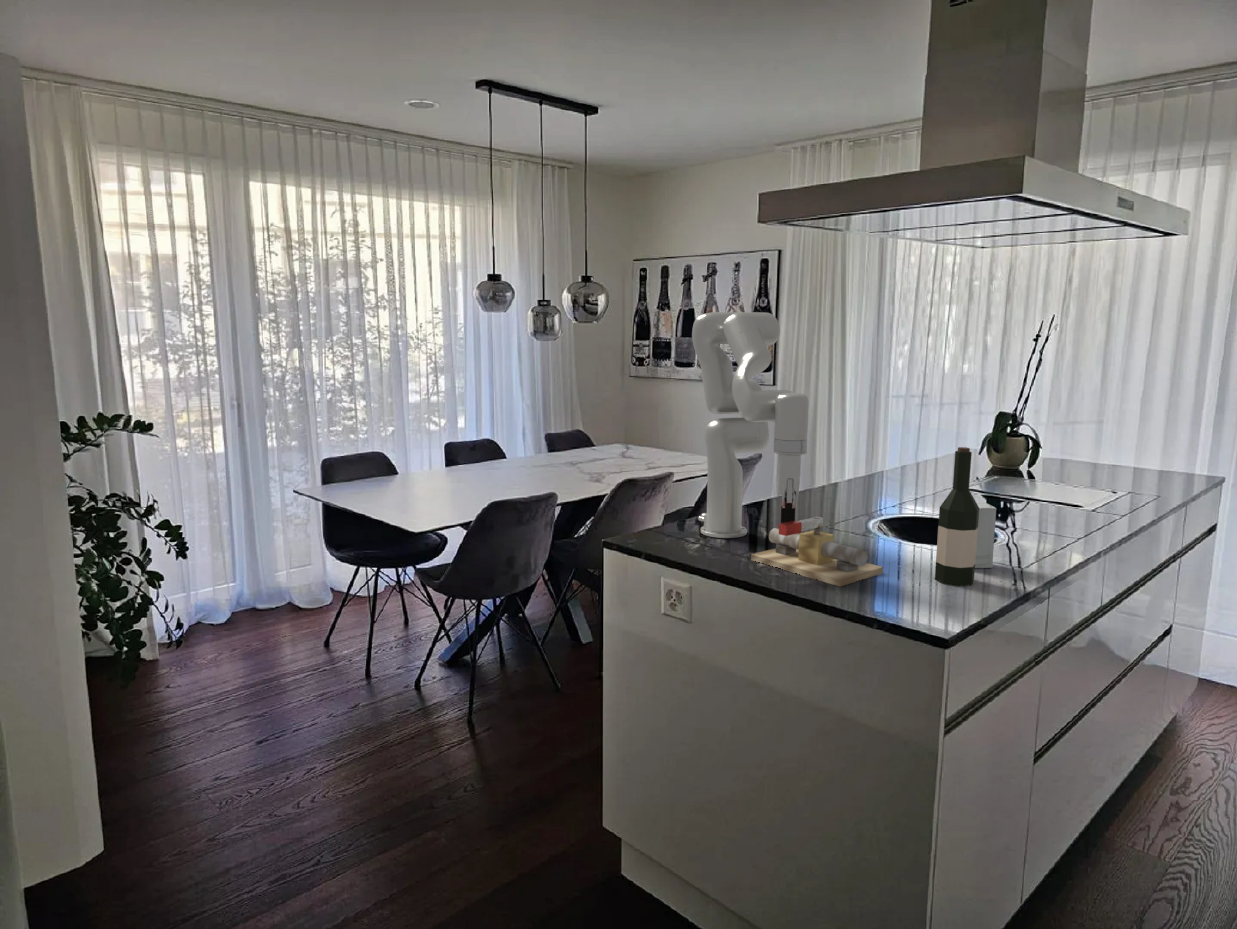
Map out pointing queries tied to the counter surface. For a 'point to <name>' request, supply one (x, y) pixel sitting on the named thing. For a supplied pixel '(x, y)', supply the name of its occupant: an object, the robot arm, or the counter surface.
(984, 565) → the skincare box
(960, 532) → the wine bottle
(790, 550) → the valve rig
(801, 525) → the valve lever
